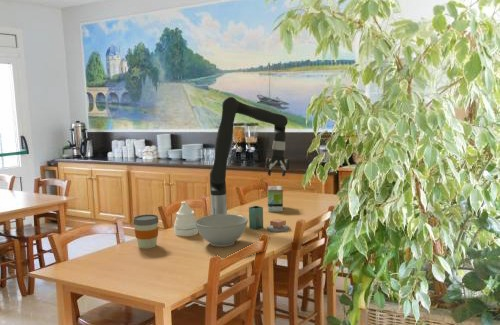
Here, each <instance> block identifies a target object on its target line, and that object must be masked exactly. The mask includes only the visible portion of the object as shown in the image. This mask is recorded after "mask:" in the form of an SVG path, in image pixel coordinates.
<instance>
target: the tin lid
mask: <svg viewBox="0 0 500 325" xmlns="http://www.w3.org/2000/svg"><path fill="white" fill-rule="evenodd" d="M286 222H287V220H285V219H281V218H276V219H272V220H269V224H270V225H269V226H271V225H272V226H273V228H277V229H279V228H283V226H284V225H286V226H287V223H286Z"/></svg>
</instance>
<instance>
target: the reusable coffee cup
mask: <svg viewBox="0 0 500 325" xmlns="http://www.w3.org/2000/svg"><path fill="white" fill-rule="evenodd" d="M133 225H134V233H135V234H134V235H135V238H136V241H137V246H138V248H139V249H151V248H155V247H156V246H157V240H158V236H159V226H158V225H159V216H158V215H156V214H141V215H136V216H134V217H133Z"/></svg>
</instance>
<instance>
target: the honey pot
mask: <svg viewBox="0 0 500 325" xmlns="http://www.w3.org/2000/svg"><path fill="white" fill-rule="evenodd" d="M180 203H181V205H180V208H179V209H178V211H177V212H175V214H176V218H175V221H174V225H173V229H174V236H177V237H189V236H190V237H191V236H195V235H196V234H198V233H199V232H198V230H197V227H196V224H195V221H196V220H197V219H196V216H195V215H194V214H195V211H194V210H192V208H191V207H190V206H189V205H188V204H187V202H186V201H180Z"/></svg>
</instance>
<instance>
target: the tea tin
mask: <svg viewBox="0 0 500 325" xmlns="http://www.w3.org/2000/svg"><path fill="white" fill-rule="evenodd" d="M248 221H249V222H248V225H249V226H248V227H249V229H252V230H255V229H256V230H259V229H264V207H263V206H259V205H253V206H248Z"/></svg>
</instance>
